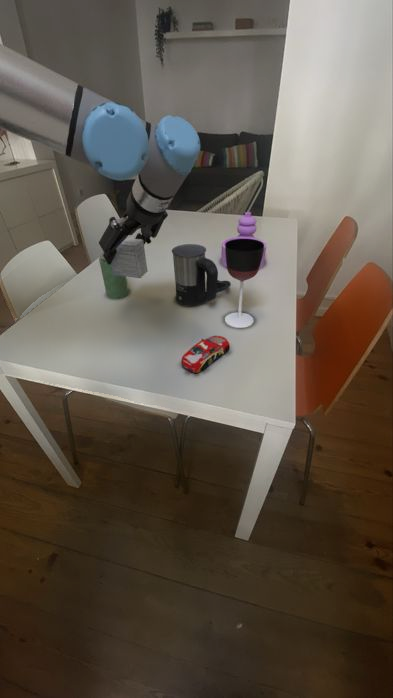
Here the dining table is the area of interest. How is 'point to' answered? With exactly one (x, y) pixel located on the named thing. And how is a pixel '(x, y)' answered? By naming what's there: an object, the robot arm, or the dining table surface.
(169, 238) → the dining table surface
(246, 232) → the purple rounded knobbed piece
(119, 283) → the green can
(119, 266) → the medicine box
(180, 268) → the milk frother
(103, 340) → the dining table surface
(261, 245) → the wineglass
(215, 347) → the race car
